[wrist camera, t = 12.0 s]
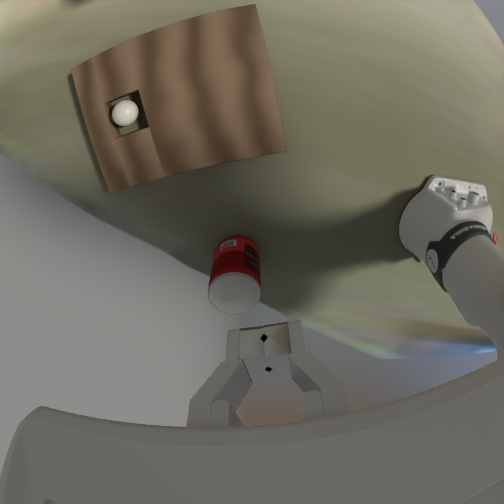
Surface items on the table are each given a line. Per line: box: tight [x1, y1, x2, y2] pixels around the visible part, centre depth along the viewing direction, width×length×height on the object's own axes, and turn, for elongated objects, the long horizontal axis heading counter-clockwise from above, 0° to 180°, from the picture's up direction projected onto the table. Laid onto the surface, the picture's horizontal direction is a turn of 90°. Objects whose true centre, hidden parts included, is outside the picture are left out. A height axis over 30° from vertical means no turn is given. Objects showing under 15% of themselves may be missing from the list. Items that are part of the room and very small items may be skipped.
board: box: [71, 4, 286, 193], centre depth 35 cm, size 28×22×2 cm
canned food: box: [208, 236, 261, 314], centre depth 46 cm, size 8×8×11 cm
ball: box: [112, 100, 138, 126], centre depth 35 cm, size 4×4×4 cm
